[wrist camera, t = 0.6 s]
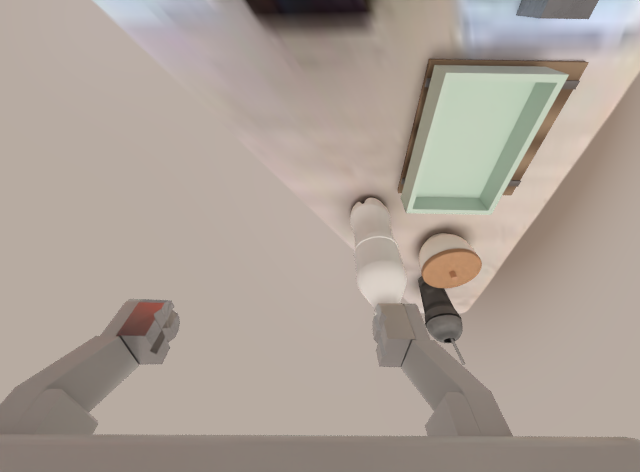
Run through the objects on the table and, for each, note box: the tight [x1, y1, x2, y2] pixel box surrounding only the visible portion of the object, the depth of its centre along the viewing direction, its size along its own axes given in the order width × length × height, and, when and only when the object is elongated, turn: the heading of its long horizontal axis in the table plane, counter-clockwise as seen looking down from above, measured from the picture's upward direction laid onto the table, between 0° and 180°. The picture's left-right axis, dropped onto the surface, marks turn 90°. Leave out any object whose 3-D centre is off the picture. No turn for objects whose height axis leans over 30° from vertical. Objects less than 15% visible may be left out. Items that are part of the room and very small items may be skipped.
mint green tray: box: [401, 65, 569, 215], centre depth 38 cm, size 20×14×6 cm
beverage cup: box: [418, 276, 465, 365], centre depth 58 cm, size 7×7×20 cm
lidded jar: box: [419, 233, 482, 288], centre depth 53 cm, size 11×11×9 cm
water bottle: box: [350, 198, 407, 316], centre depth 42 cm, size 7×7×25 cm
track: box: [398, 59, 588, 195], centre depth 41 cm, size 20×20×1 cm
